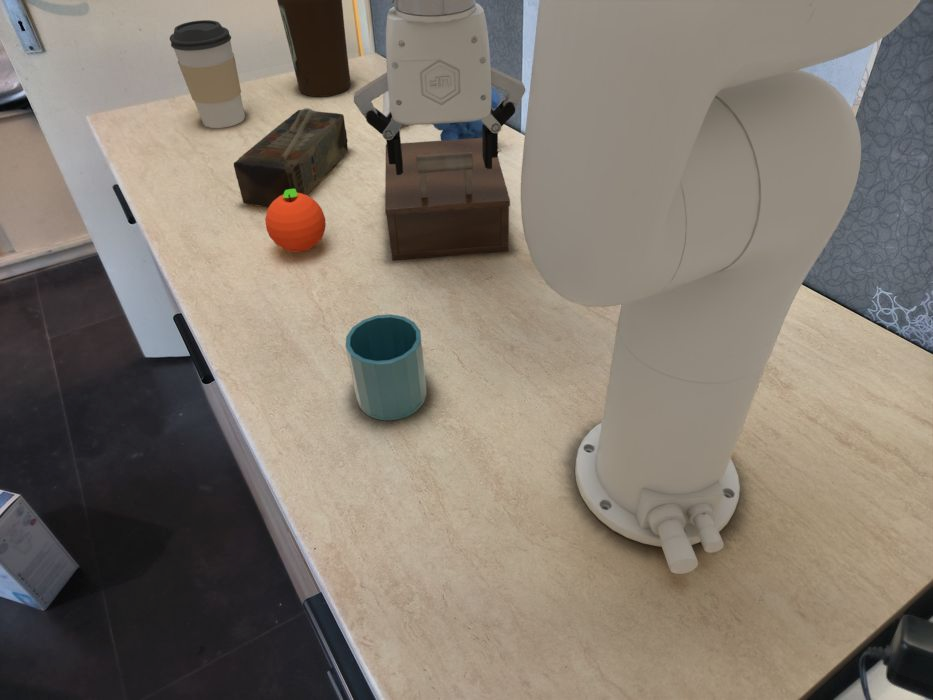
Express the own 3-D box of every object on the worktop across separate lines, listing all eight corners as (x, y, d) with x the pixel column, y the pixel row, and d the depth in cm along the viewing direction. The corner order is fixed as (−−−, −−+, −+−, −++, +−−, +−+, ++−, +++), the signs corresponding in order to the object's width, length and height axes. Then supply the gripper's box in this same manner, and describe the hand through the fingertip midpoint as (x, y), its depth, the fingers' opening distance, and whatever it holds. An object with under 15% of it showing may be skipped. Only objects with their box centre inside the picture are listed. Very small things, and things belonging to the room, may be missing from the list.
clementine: (273, 232, 82) (259, 180, 78) (328, 224, 83) (318, 173, 78) (272, 267, 76) (257, 213, 72) (331, 258, 77) (320, 205, 73)
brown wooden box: (508, 251, 77) (509, 203, 73) (392, 260, 77) (386, 212, 72) (492, 187, 89) (492, 142, 85) (391, 195, 88) (386, 150, 84)
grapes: (451, 175, 92) (447, 90, 84) (426, 158, 96) (420, 75, 88) (517, 152, 97) (518, 69, 89) (490, 137, 101) (489, 56, 93)
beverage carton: (352, 150, 99) (345, 107, 94) (295, 214, 85) (284, 168, 81) (304, 146, 101) (295, 103, 96) (241, 208, 87) (227, 162, 83)
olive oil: (355, 75, 123) (333, -82, 106) (353, 96, 115) (328, -69, 99) (299, 78, 123) (267, -78, 106) (292, 100, 115) (257, -66, 98)
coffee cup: (201, 111, 113) (172, 17, 102) (254, 107, 113) (231, 13, 103) (191, 132, 106) (158, 34, 96) (247, 128, 106) (221, 30, 96)
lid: (510, 206, 72) (510, 159, 69) (385, 215, 72) (379, 168, 68) (492, 142, 85) (492, 99, 81) (386, 150, 84) (381, 107, 80)
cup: (428, 417, 58) (422, 360, 53) (356, 423, 58) (343, 366, 53) (425, 368, 63) (419, 311, 58) (358, 373, 63) (347, 317, 58)
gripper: (337, 10, 56) (363, 188, 68) (534, -1, 57) (527, 177, 69) (341, -13, 62) (365, 155, 74) (521, -23, 63) (517, 145, 74)
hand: (443, 166), depth 71 cm, fingers open, 9 cm apart
